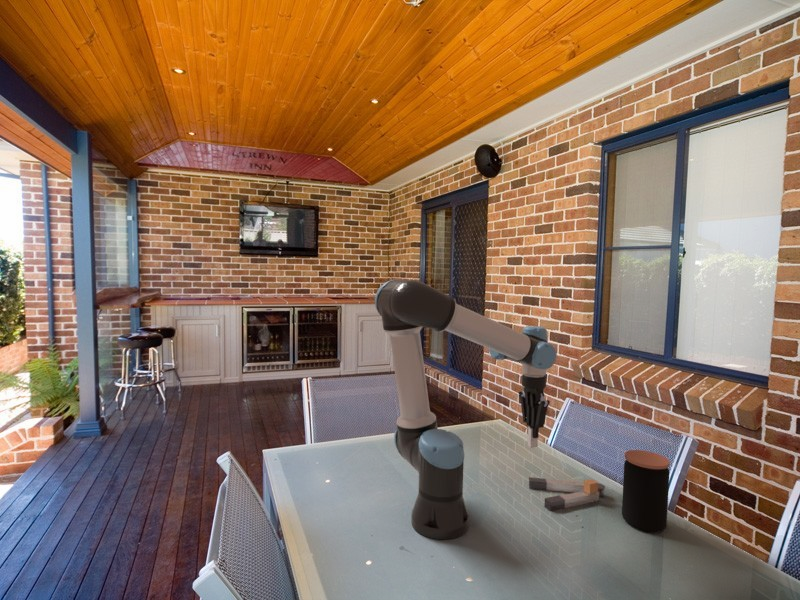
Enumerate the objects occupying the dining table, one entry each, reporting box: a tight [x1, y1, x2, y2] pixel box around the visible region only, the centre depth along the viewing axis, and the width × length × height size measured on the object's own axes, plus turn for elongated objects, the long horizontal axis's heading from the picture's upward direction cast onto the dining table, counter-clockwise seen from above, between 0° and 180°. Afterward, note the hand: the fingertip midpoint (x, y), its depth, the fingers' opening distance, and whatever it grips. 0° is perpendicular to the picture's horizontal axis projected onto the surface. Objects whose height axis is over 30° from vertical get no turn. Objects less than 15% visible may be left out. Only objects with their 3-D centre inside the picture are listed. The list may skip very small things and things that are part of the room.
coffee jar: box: [621, 449, 671, 534], centre depth 121 cm, size 11×11×18 cm
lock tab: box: [583, 478, 599, 494], centre depth 133 cm, size 3×2×3 cm
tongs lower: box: [543, 482, 606, 512], centre depth 133 cm, size 22×5×3 cm, turn 111°
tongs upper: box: [528, 477, 584, 493], centre depth 139 cm, size 18×2×2 cm, turn 81°
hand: (532, 446), depth 146 cm, fingers closed
